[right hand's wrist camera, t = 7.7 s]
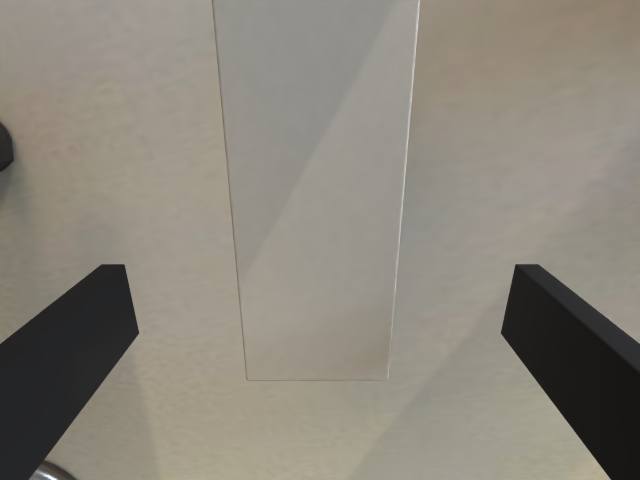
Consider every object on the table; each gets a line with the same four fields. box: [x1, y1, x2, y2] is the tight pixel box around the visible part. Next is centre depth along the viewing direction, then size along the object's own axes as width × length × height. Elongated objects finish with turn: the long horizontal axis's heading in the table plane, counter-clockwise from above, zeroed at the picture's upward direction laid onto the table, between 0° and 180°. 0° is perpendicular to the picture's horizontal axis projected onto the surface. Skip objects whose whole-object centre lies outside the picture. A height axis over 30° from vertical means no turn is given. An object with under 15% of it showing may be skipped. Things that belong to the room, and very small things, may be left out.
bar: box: [212, 0, 420, 381], centre depth 14 cm, size 26×6×8 cm, turn 0°
